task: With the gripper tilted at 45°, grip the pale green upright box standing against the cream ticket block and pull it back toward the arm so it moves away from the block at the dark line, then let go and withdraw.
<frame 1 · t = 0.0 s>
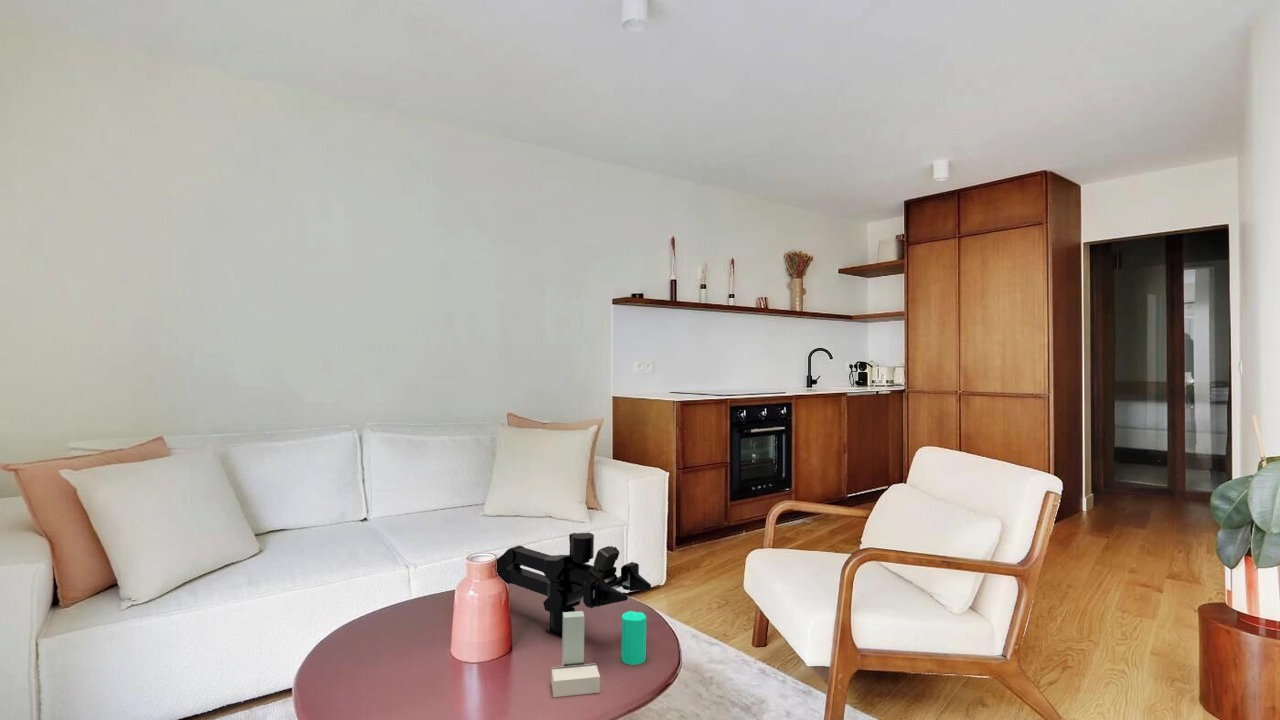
hand: (639, 592, 155), 17 cm above the table, tool horizontal, fingers open, 9 cm apart
ticket block: (575, 687, 143), on the table
candle: (633, 659, 157), on the table
pale green upright box: (573, 644, 148), point 7 cm above the table, slide at 0.0 cm
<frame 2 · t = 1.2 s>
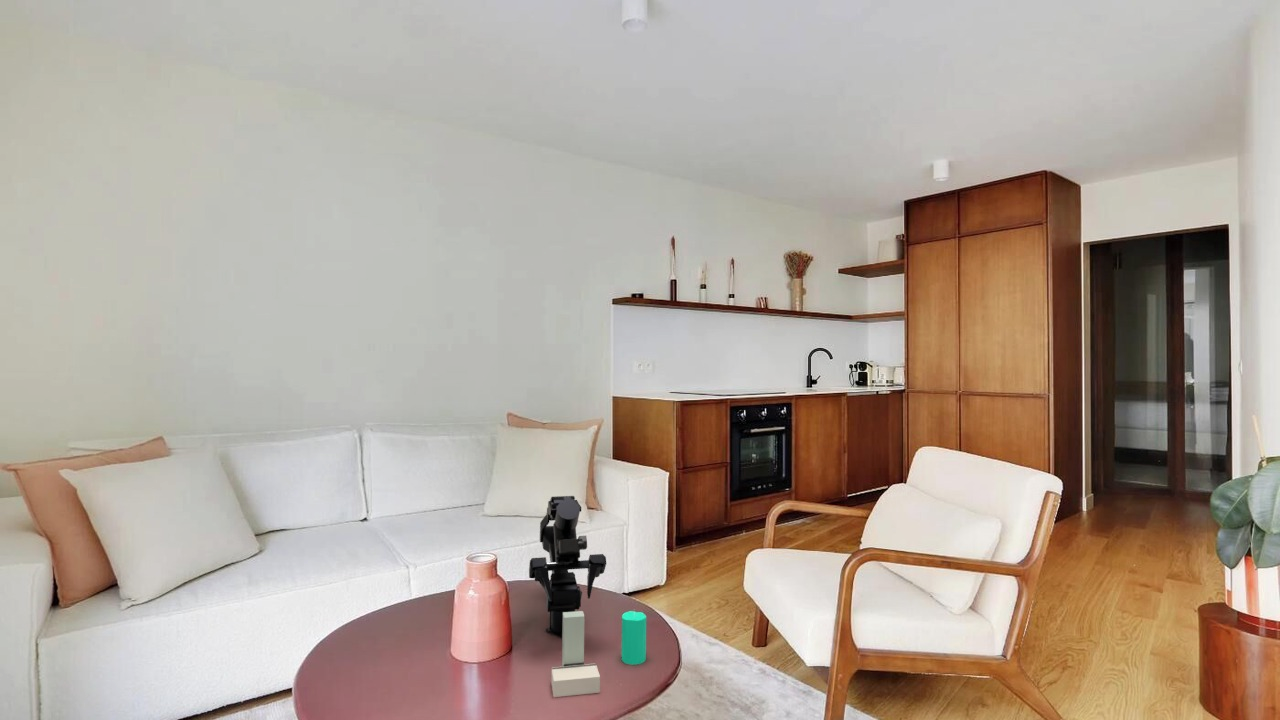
hand: (570, 599, 155), 15 cm above the table, tool tilted 45°, fingers open, 9 cm apart
nothing on the table moved.
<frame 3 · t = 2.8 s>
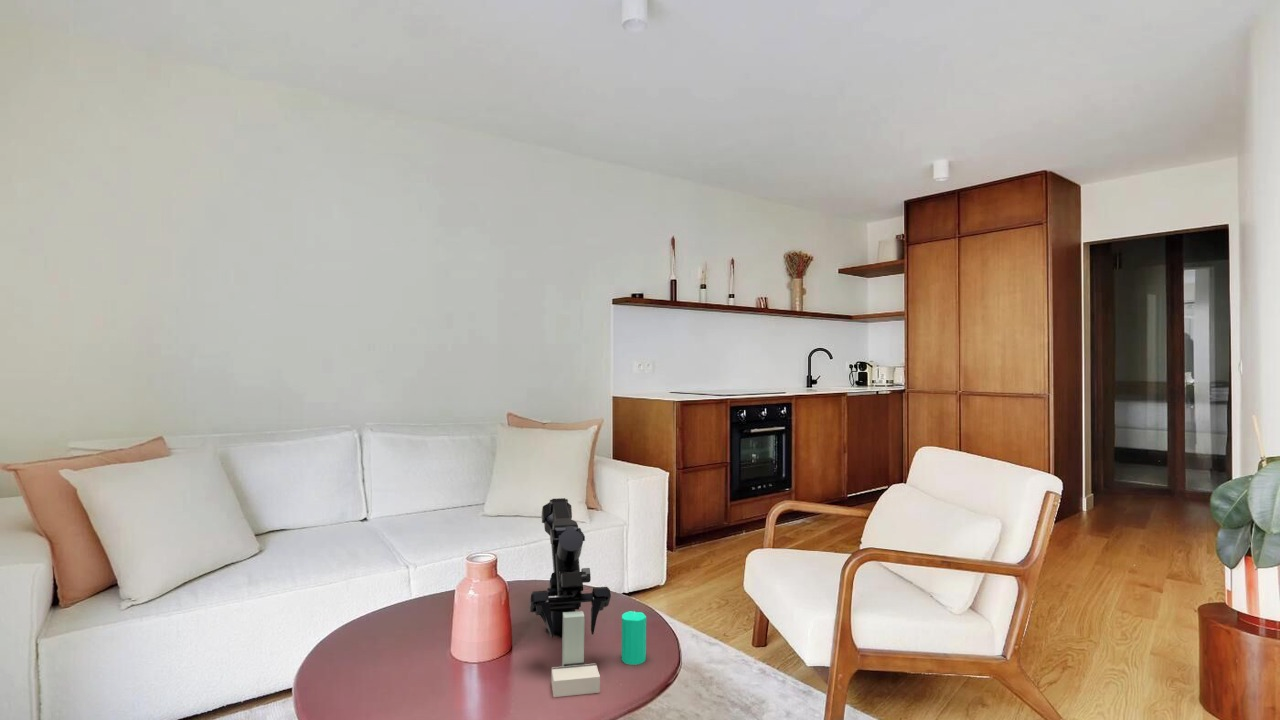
hand: (572, 635, 148), 9 cm above the table, tool tilted 45°, fingers open, 9 cm apart
nothing on the table moved.
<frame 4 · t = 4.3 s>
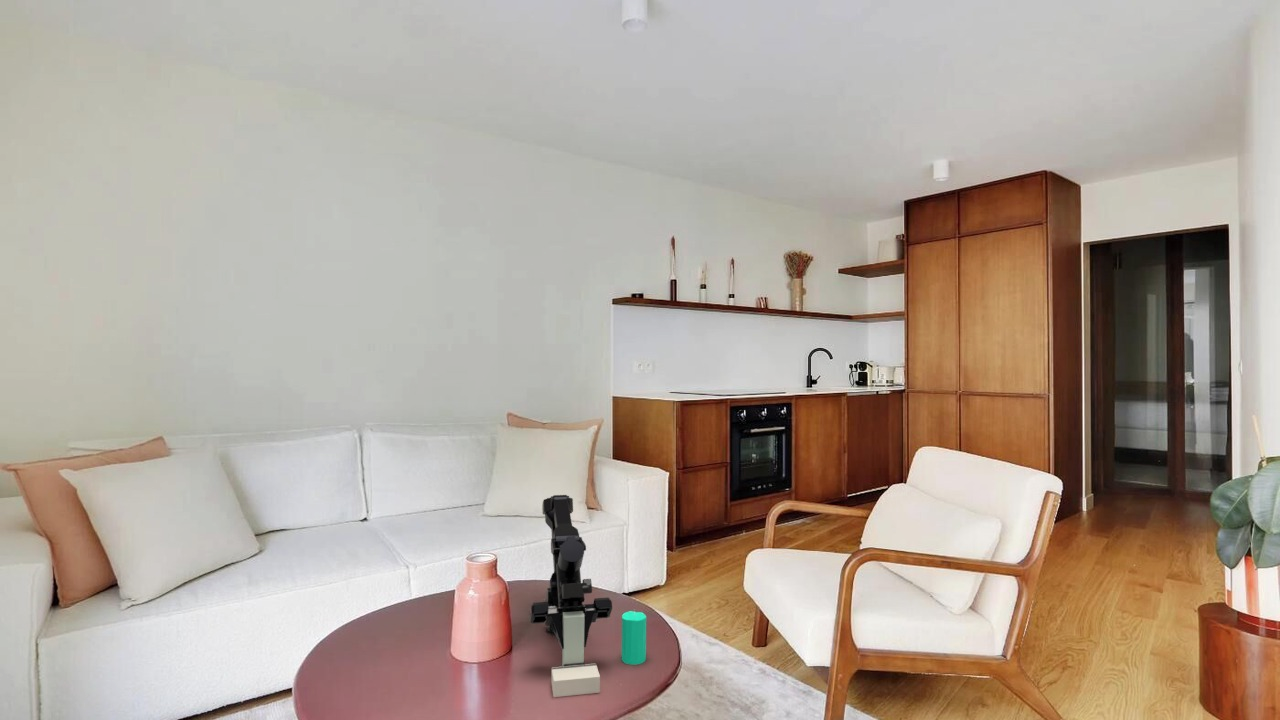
hand: (573, 647, 146), 7 cm above the table, tool tilted 45°, fingers closed on pale green upright box, 5 cm apart
pale green upright box: (573, 644, 148), point 7 cm above the table, slide at 0.0 cm, touching gripper
everything else where it was.
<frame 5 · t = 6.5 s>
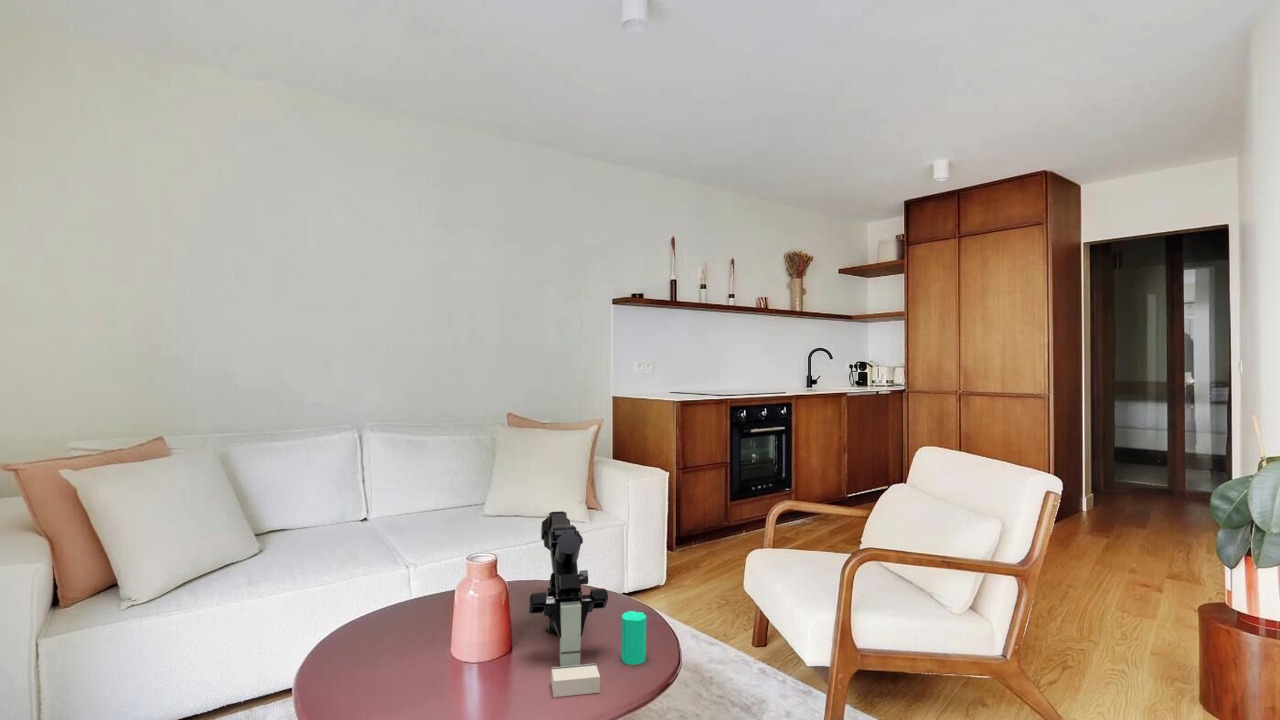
hand: (570, 636, 152), 7 cm above the table, tool tilted 45°, fingers closed on pale green upright box, 5 cm apart
pale green upright box: (570, 633, 153), point 7 cm above the table, slide at 5.8 cm, touching gripper
everything else where it was.
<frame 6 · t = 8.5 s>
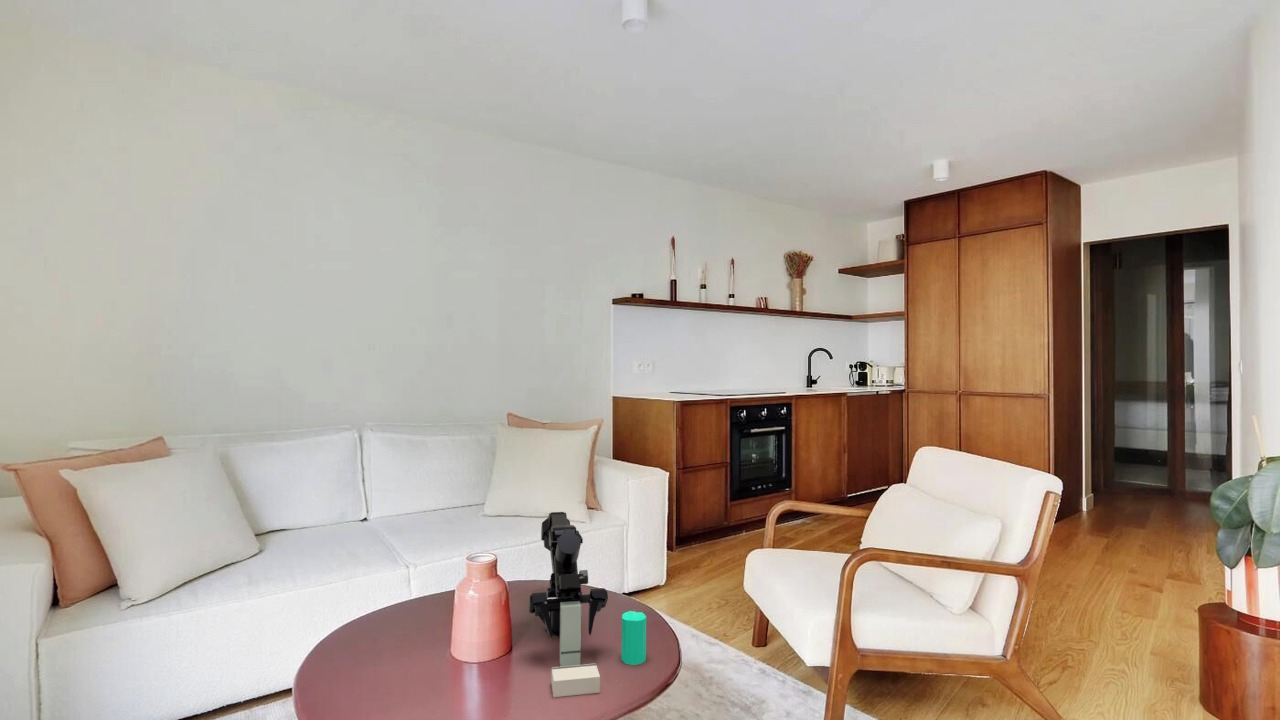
hand: (570, 636, 152), 7 cm above the table, tool tilted 45°, fingers open, 9 cm apart
pale green upright box: (570, 633, 153), point 7 cm above the table, slide at 5.9 cm
everything else where it was.
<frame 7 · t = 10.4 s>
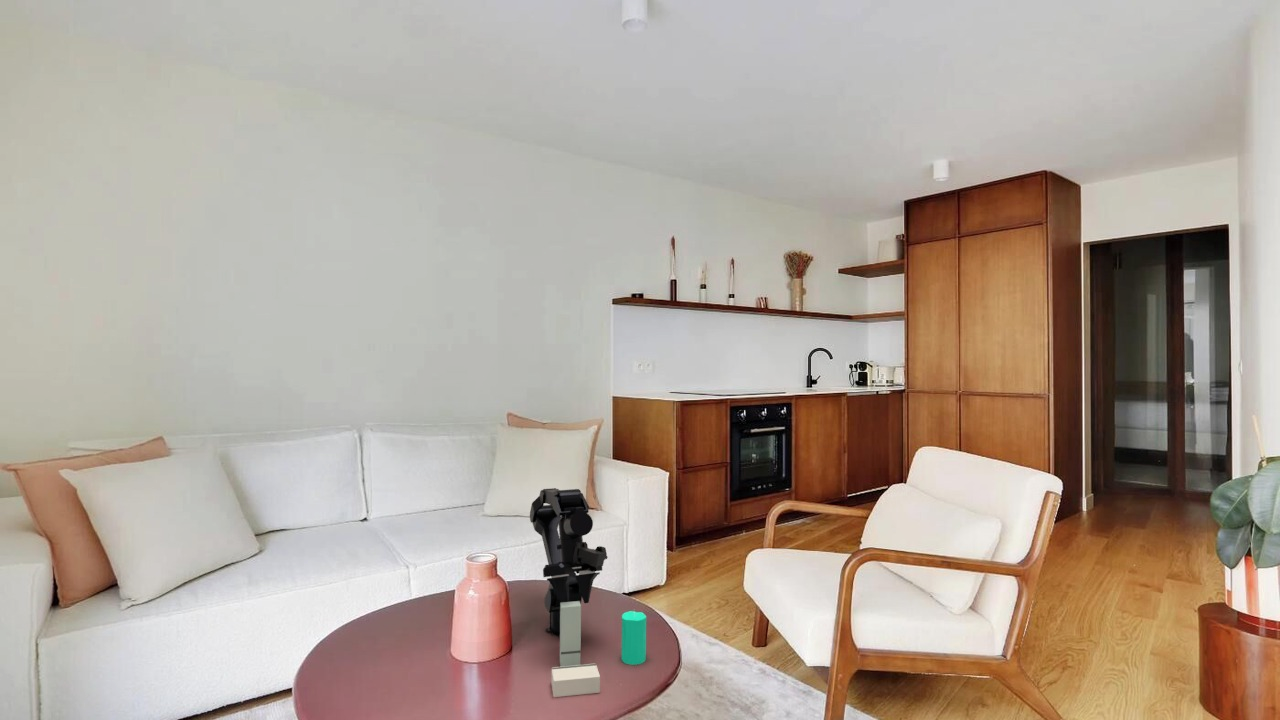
hand: (576, 604, 159), 12 cm above the table, tool tilted 20°, fingers open, 9 cm apart
nothing on the table moved.
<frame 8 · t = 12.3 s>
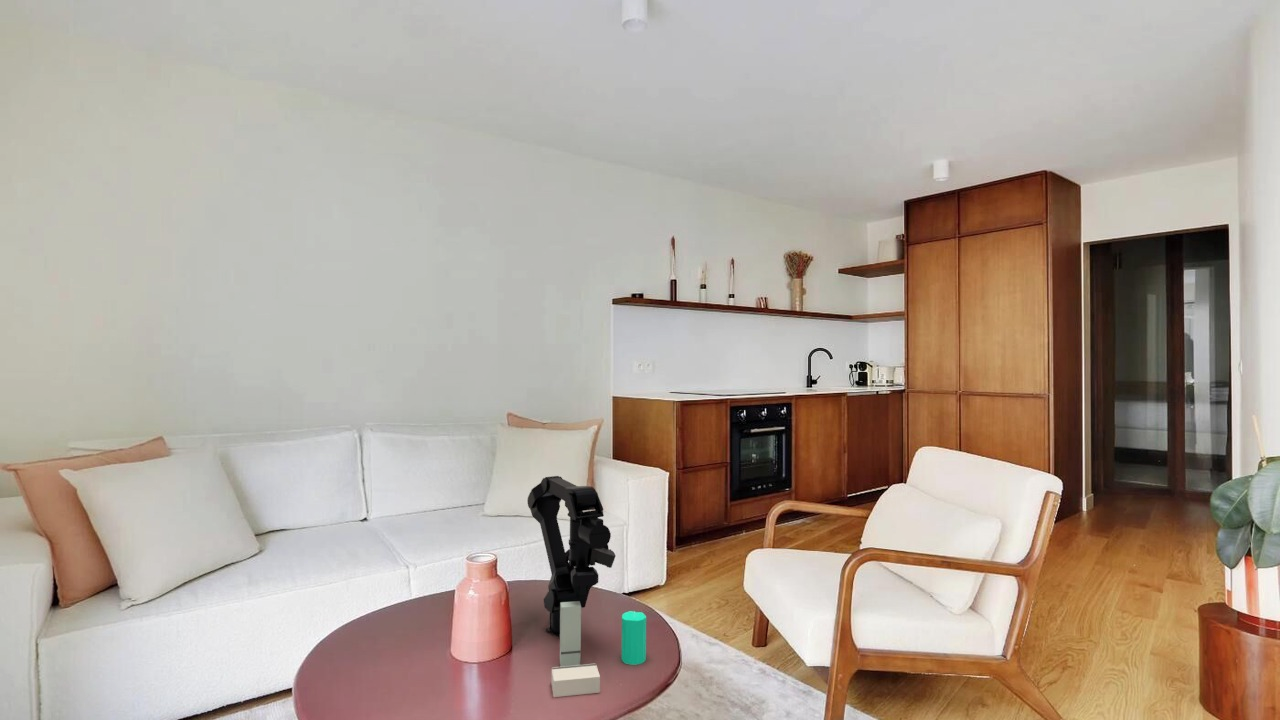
hand: (580, 600, 162), 12 cm above the table, tool pointing down, fingers open, 9 cm apart
nothing on the table moved.
at the end: pale green upright box slide at 5.8 cm; the gripper is holding nothing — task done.
